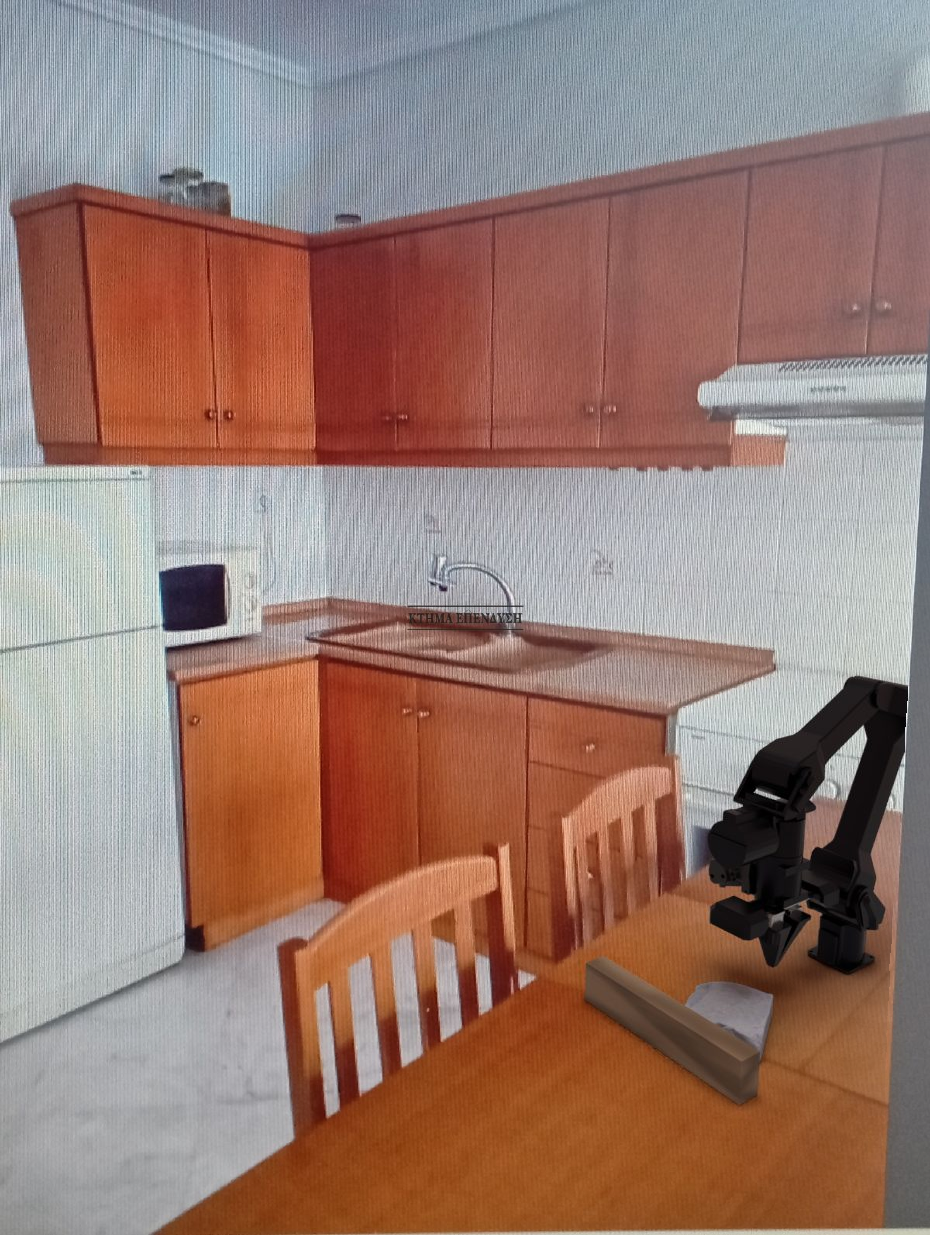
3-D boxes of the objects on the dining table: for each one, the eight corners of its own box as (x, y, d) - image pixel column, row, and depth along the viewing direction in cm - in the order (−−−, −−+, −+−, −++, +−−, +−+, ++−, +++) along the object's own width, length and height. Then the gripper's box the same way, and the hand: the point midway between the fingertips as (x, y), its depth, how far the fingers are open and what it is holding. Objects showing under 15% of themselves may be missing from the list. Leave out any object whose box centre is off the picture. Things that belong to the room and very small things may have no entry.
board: (602, 992, 120) (603, 955, 119) (757, 1094, 101) (760, 1051, 100) (584, 999, 118) (585, 962, 118) (739, 1105, 99) (741, 1061, 98)
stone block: (678, 1062, 109) (767, 1069, 105) (672, 1022, 109) (761, 1027, 105) (697, 1013, 120) (778, 1017, 116) (691, 976, 120) (773, 979, 115)
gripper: (772, 814, 129) (766, 921, 132) (678, 844, 119) (673, 959, 121) (845, 840, 120) (837, 954, 123) (750, 875, 110) (743, 999, 112)
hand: (771, 965), depth 120 cm, fingers closed
